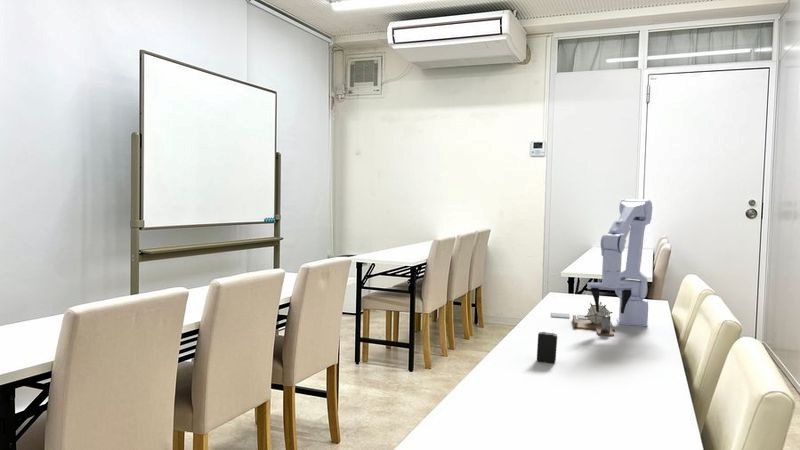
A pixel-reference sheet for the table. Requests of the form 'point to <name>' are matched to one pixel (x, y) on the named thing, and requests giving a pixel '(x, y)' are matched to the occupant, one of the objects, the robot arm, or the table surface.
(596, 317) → the game die
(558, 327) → the table surface
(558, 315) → the broken grey strip
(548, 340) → the ink cartridge
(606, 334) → the brown base with post
